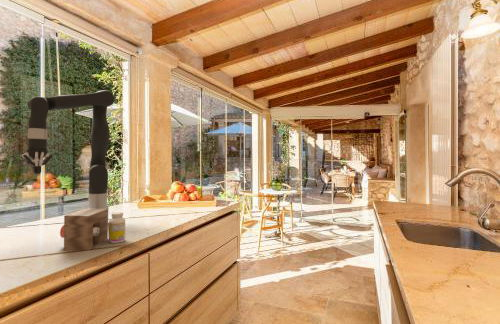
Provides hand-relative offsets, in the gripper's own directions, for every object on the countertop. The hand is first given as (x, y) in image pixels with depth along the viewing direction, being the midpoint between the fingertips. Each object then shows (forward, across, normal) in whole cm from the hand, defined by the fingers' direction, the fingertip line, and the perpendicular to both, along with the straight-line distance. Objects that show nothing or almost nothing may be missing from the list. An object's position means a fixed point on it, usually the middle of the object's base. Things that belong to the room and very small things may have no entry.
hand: (37, 173), depth 136 cm
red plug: (+26, 0, -36) cm, 44 cm away
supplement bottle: (+29, +12, -43) cm, 53 cm away
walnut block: (+29, +3, -36) cm, 46 cm away
